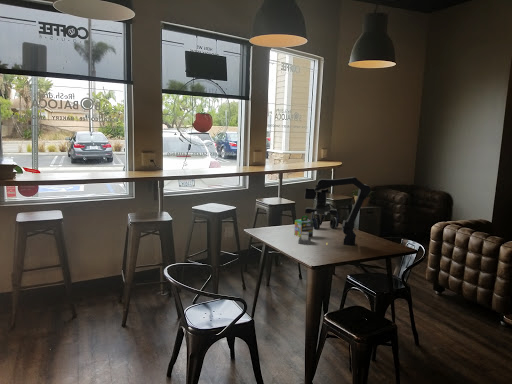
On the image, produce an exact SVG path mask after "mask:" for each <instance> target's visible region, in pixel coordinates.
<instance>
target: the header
mask: <svg viewBox="0 0 512 384" xmlns="http://www.w3.org/2000/svg"><path fill="white" fill-rule="evenodd" d="M297 242H298V244H299V245H304V246H305V245H311V243H312V237H308V240H301V237H298V241H297Z"/></svg>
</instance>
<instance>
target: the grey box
mask: <svg viewBox="0 0 512 384" xmlns="http://www.w3.org/2000/svg"><path fill="white" fill-rule="evenodd" d="M308 234H309V232H302V233H301V240H308Z"/></svg>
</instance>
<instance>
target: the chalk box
mask: <svg viewBox="0 0 512 384" xmlns="http://www.w3.org/2000/svg"><path fill="white" fill-rule="evenodd" d="M308 217H309V216H308V215H302V216H301V218H300V219H295V220H294V236H297V237H298V238H299V237H301V233H302V232H309V234H308V237H311V238H312V237H313V235H314V234H313V233H314V227H313V221H311V219H309V218H308Z"/></svg>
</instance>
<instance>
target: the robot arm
mask: <svg viewBox="0 0 512 384" xmlns="http://www.w3.org/2000/svg"><path fill="white" fill-rule="evenodd" d="M346 185H354V186H355V187H357V188H358V191H357V195H356V200H355V202H354V204H353V206H352V208H351V212H350V213H349V215H348V218H347V219H346V220H345V219H344V220H343V221H342V224H341V225H340V226H341V231H342V232H343V234H344V237H343V241H342V242H343V245H344V246H348V247H351V246H356V237H357V234H356V233H355V231H354V227H355V221H356V218H357V217H358V214H359V213H360V211H361V208H362V205H363V203H364V202H365V199H367V197H368V196H369V195H370V193H371V191H372V189H371V187H370V186H369V185H368V184H365V183H363V182H361V180H359V179H358V178H357V177H356V176H351V177H342V178H333V179H331V178H319V179H318V180H317V183H316V185H315V186H314V187H313V188H309V187H305V188H304V189H305V190H304V200H315V199H316V206H315V208H316V209H315V208H313V207H309V206H308V207H307V206H306V208H305V210H304V211H305V212H304V213H305V214H312V213H313V212H315V213H314V216H316V218H318V221H319V224H320V226H322V224H323V220H324V219H325V217H327V215H328V214H330V215H331V216H337V212H338V210H337V209H334V208H330V209H329V205H326V203H327V196H328V195H327V194H330V193H331V191H330V190H329V188H331V187H335V186H346Z"/></svg>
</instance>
